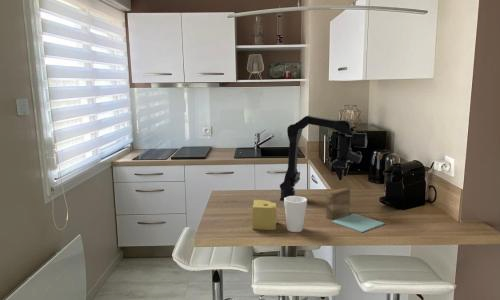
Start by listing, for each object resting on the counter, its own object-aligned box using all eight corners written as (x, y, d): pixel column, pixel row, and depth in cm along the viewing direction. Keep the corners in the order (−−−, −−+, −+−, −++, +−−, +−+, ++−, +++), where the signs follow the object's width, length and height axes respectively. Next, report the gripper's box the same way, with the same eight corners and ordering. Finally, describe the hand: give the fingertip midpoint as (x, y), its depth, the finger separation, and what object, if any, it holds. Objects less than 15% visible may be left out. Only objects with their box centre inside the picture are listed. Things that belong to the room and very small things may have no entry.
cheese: (277, 222, 174) (277, 200, 172) (276, 231, 163) (276, 207, 162) (253, 221, 175) (253, 199, 173) (251, 230, 164) (251, 207, 163)
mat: (331, 221, 174) (331, 220, 174) (354, 214, 184) (354, 213, 183) (362, 232, 161) (362, 231, 161) (384, 223, 171) (384, 223, 171)
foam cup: (292, 235, 159) (293, 204, 156) (279, 228, 166) (279, 198, 164) (310, 230, 164) (311, 200, 161) (296, 223, 171) (297, 194, 169)
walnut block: (326, 218, 179) (327, 192, 177) (343, 212, 186) (344, 188, 184) (332, 220, 176) (333, 194, 174) (349, 214, 183) (350, 189, 181)
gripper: (357, 150, 177) (355, 184, 180) (365, 144, 193) (363, 175, 196) (332, 148, 182) (331, 181, 185) (342, 143, 198) (341, 173, 201)
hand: (342, 178), depth 191 cm, fingers open, 9 cm apart
